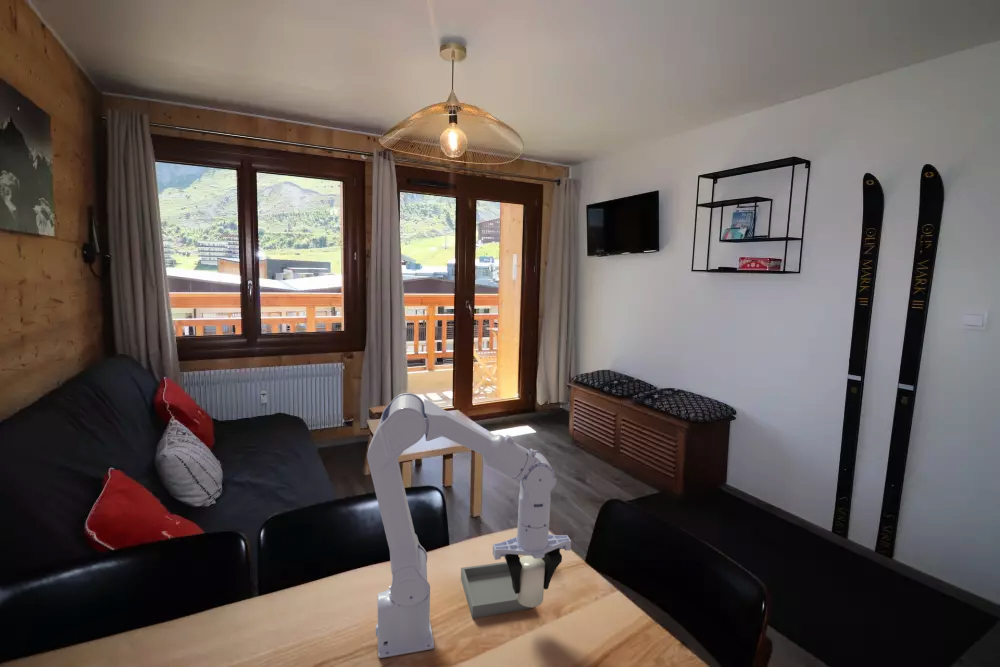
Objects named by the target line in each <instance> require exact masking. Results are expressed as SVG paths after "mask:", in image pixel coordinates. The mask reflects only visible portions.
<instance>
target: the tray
mask: <svg viewBox="0 0 1000 667" xmlns="http://www.w3.org/2000/svg"><path fill="white" fill-rule="evenodd" d="M460 581H461V584H462V587H463V590H464V594H465V597H466V598H465V599H466V602H467V605H468V607H469V611H470V615H471V618H472V619H475V618H481V617H488V616H494V615H500V614H505V613H506V614H507V613H513V612H514V613H515V612H519V611H524V610H531V609H533V607H526V606H523V605H521V604H520V603H519V602H518V601H517V598H516V594H515V592H514V590H513V587H512V579H511V574H510V571H509V567H508V565H507V562H506V561H503V562H495V563H488V564H481V565H479V564H478V565H472V566H471V565H470V566H465V567H460Z"/></svg>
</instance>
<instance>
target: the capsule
mask: <svg viewBox="0 0 1000 667" xmlns="http://www.w3.org/2000/svg"><path fill="white" fill-rule="evenodd" d="M520 562H521V564H522V569H521V574H520V591H519V593H518V594H516V598H517V601H518V602H519V603H520V604H521V605H523V606H526V607H532V608H535V607H539V606H540V605H541V604H542V603H543V602H544V594H545V593H544V591H545V589H544V575H545V562H544V561H543V560H542V558H538V559H535V558H533V556H528V555H522V556H521V557H520Z"/></svg>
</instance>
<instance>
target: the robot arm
mask: <svg viewBox="0 0 1000 667" xmlns="http://www.w3.org/2000/svg"><path fill="white" fill-rule="evenodd" d="M423 437H425V442H430V441H432V440H435V439H438V438H442V437H443V438H445V439H448V440H449V441H452V442H454V443H456V444H458V445H460V446H463V447H465V448H467V449H469V450H471V451H474V452H476V453H478V454H480V455H481V456H482V461H483V463H484V465H485V466H487V467H489V468H491V469H493V470H494V471H497V472H499V473H501V474H503V475H504V476H506V477H508V478H510V479H512V480H514V481H518V482H519V494H518V510H517V530H516V531H517V532H516V536H515V537H513V538H509V539H507V540H504V541H500V542H496V543H493V544H492V555H493V559H494V560H501V559H502V557H504V559H505V562H507V565H508V567H509V571H510V574H511V579H512V587H513V590H514V592H515V594H518V593H519V591H520V574H521V569H522V564H521V562H520V558H521V557H520V556H527V555H528V556H533V558H535V559H538V558H541V559H542V560H543V561H544V562H545V575H544V590H548V589H549V586H550V583H551V581H552V578H553V575H554V573H555V571H556V569H557V568H558V567H559V566H560V564H561V563H562V561H563V555H562V553H561V550H563V549H564V550H565V551H571V550H572V539H570V537H569V535H568V534H565V535H564V534H563V535H562V534H561V535H557V534H550V532H549V531H550V515H551V513H550V512H551V511H550V510H551V500H552V499H551V491H552V490H553V489H554V488H555V486H556V484H557V480H558V479H557V478H556V474H555V470H554V469H553V467H552V466H551V464H550V462H549V461H548V459H547V458H546V457H545V455H544V454H542V453H541V452H540V451H539V450H536V449H533V448H529V449H527V448H525V447H524V446H522V445H520V444H518V443H517V442H515V439H514V438H513V437H512V436H511V435H509V434H506V435H505V436H504V435H502V434H495V435H491V436H489V435H487V434H485V433H484V432H482V431H480V430H478V429H477V428H475V427H474V426H472V425H471V424H468V423H467V422H466V421H464V420H462V419H460V418H458V416H456V415H454V414H452V413H450V412H449V411H447V410H446V409H444V408H442V407H441V406H439V405H438V404H435V403H434V402H433V401H430V400H429V399H425V398H424V399H422V398H421V397H420V396H418V395H417V394H414V393H412V392H405V393H400V394H398V395H396V396H395V397H394V398H393V399H392V400H391V401H390V402H389V404H387V405H386V407H385V408H384V409H383V412H382V414H381V416H380V419H379V422H378V424H377V427H376V429H375V431H374V433H373V436H372V437H371V441H370V442H369V445H368V450H367V453H366V458H367V462H368V466H369V471H370V475H371V479H372V482H373V487H374V492H375V496H376V501H377V504H378V508H379V512H380V517H381V520H382V524H383V527H384V528H383V529H384V532H385V537H386V541H387V546H388V548H389V549H388V550H389V559H390V560H389V561H390V571H391V575H392V577H391V585H389V588H388V589H386V590H385V591H381V592H378V593H377V596H376V597H377V599H376V600H377V604H376V605H377V624H375V637H377V652H378V654H377V655H378V658H379V659H383V658H389V657H394V656H399V655H400V656H401V655H407V654H411V653H417V652H423V651H427V650H433V649H434V648H435V641H434V636H433V635H434V634H433V631H432V625H431V619H430V616H431V615H430V614H431V585H430V583H429V582H428V566H427V562H428V554H427V551H426V549H425V548H424V547H423V546H422V545H421V543H420V542H419V538H418V535H417V534H416V533H415V527H414V524H413V519H412V515H411V511H410V506H409V502H408V498H407V494H406V488H405V484H404V480H403V476H402V470H401V467H400V463H399V457H401V455H402V454H403V453H404V451H406V450H407V449H409V448H411V447H413V446H414V445H415V444H416V443H418V442H420V441H421V440H422V438H423ZM519 555H520V556H519Z"/></svg>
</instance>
